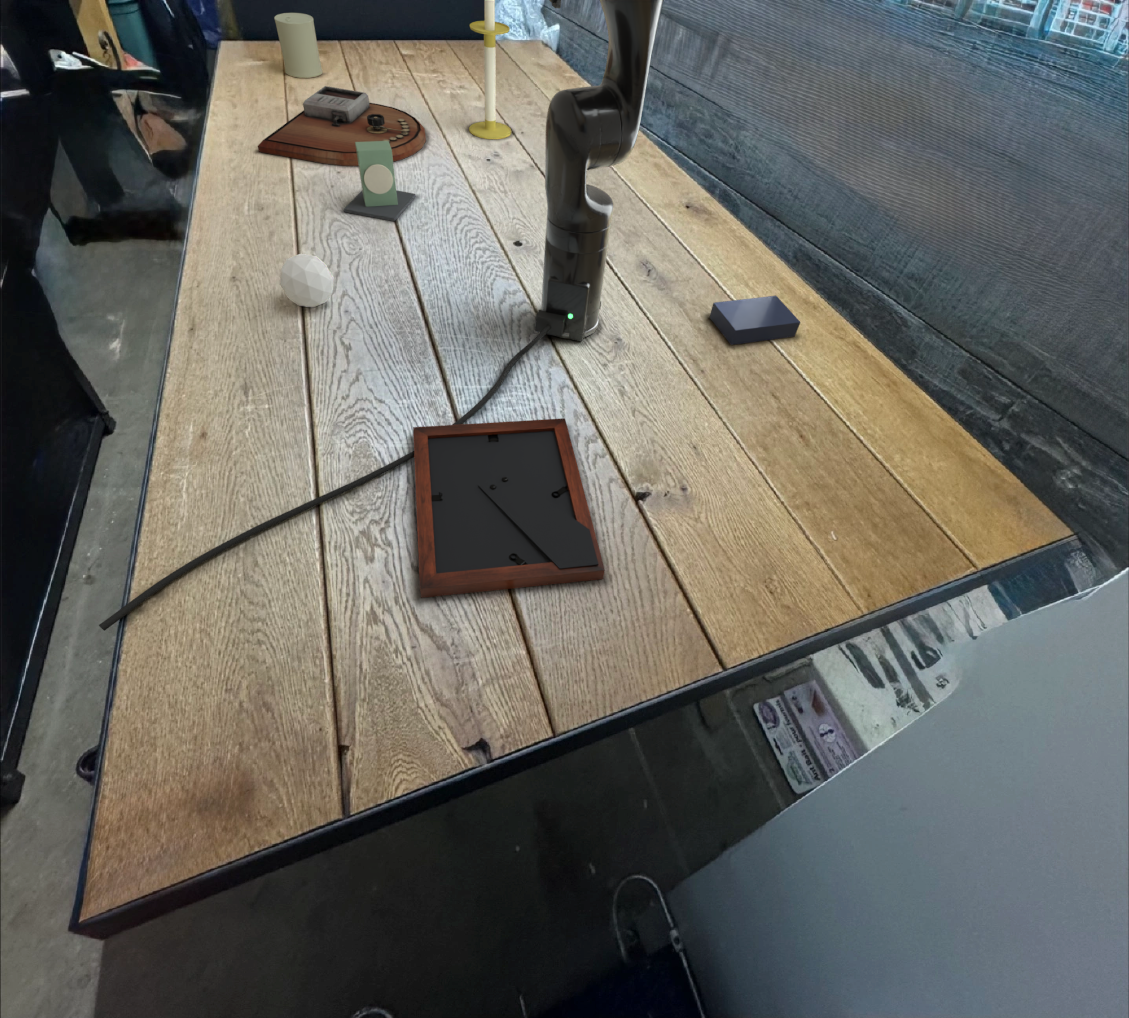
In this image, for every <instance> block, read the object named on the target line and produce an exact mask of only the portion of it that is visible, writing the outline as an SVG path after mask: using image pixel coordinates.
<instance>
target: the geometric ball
mask: <svg viewBox="0 0 1129 1018" xmlns="http://www.w3.org/2000/svg"><path fill="white" fill-rule="evenodd" d="M334 279H335V278H334V276H333V274H332V272H331V270H330V269H329V267H328V266H327V264H326V263H325V262H324V261H323V260H322V259H320V258H319V257H318V256H316V255H312V254H306V253H298V254H296V255H293V256H291V257H287V258H286V259H285V261H284V263H283V264H282V266H281V268H280V275H279V286H280V288H281V289H282V291H283V293H284V294H285V296H286V297H287V298H288V299H289V300H290V301H291V302H292V303H294V304H295V305H297V306H299V307H307V308H316V307H317V306H320V305H322V304H324V303H327V302H328V300H329V298H330V297H331V296H332V294H333V291H334V290H333V289H334Z"/></svg>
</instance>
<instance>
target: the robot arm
mask: <svg viewBox="0 0 1129 1018" xmlns="http://www.w3.org/2000/svg"><path fill="white" fill-rule="evenodd" d="M548 1H549V2H550V3H551V6H552V8H554V9H561V7H562V0H548ZM664 2H665V0H599V3H600V7H601V9H602V13H603V15H604V19H605V23H606V29H607V36H608V44H607V45H608V46H607V56H606V62H605V69H604V73H603V76H602V80H601V82H600V84H599V85H590V86H582V87H574V88H566V89H562V90H559V91H557V92H556V93H555V94H554V95H553V97H552V98H551V100H550V102H549V105H548V108H547V113H546V118H545V137H544V138H545V140H544V141H545V143H544V144H545V146H544V147H545V149H544V150H545V152H544V153H545V155H544V156H545V159H544V160H545V161H544V165H545V168H544V171H545V172H544V188H545V189H544V191H545V196H546V206H547V207H546V221H545V222H546V223H545V224H546V225H545V239H544V253H543V254H544V255H543V269H542V271H543V272H542V287H541V288H542V289H541V303H540V304H541V305H540V309H538V311H537V313H536V315H535V325H534V332H536V333H538V334H537V335H536V336H534V338H533V339H532V340H530V342H529V343H528V344H527V345H525V346H524V347H523V348H522V349H520V350H519V351H518V352H516V354H514V356H513V357H512V358H511V359H510V360H509V362H508V363H507V364H506V365H505V367H504V369H503V371H502V372H501V373H500V376H499V377H498V379H497V381H495V383H494V384H493V386H492V387H491V388H490V389H489V390H488V392H486V394H485V395H484V396H483V397H482V398H481V399H480V400H479V401H478V402H477V403H476V404H475V405H474V406H473V407H472V408H470V409H469V410H468V411H467V412H466V413H465V414H463V415H462V416H461V417H460V418H459V419H458V420H457V421H455V422H454V423H452V425H459V424H465V422H467V421H468V420H469V419H470V418H471V417H473V416H474V415H475V414H476V413H477V412H478V411H479V410H480V409H481V408H483V406H484V405H485V404H486V403H487V402H488V401H489V400H491V398H492V397H493V395H495V393H496V392H497V391H498V390H499V389H500V387H501V386H502V384H503V383H504V382H505V380H506V378H507V376H508V374H509V373H510V371H511V369H512V368H513V367H514V365H515V364H516V363H517V362H518V361H519V360H520V358H521V357H523V356H524V355H525V354H527V352H529V351H530V350H531V349H532V348H534V347H535V345H537V343H539V341H540V340H541V339H543V337H544V336H545V335H546V336H552V337H556V338H562V339H567V340H571V341H577V342H583V341H584V339H585V338H586V337H590V336H591V335H592V334H594V333H595V332H596V330H597V329H598V327H599V320H600V318H599V314H600V310H601V306H602V301H601V299H602V293H603V286H604V280H605V279H604V278H605V270H606V264H607V257H608V249H609V241H610V235H611V227H612V221H613V215H614V202H613V199H612V197H611V196H610V195H609V194H608V193H607V192H605V191H604V190H603V189H601V188H599V187H597V186H595V185H591V184H589V183H587V173H588V171H593V170H598V169H604V168H610V167H614V166H618V165H620V164H622V163H624V162H625V161H626V160H627V159H628V158H629V157H630V156H631V154H632V152H633V150H634V148H635V145H636V143H637V139H638V137H639V130H640V126H641V121H642V115H643V110H644V103H645V97H646V93H647V87H648V79H649V73H650V67H651V62H652V56H653V55H652V54H653V51H654V46H655V42H656V37H657V34H658V33H657V32H658V29H659V28H658V27H659V23H660V20H661V19H660V18H661V15H662V11H663V7H664ZM412 459H414V450H412V451H410V452H408V453H406V454H405V455H403V456H401V457H399V458H397V459H396V460H394V461H391V462H390V463H388V464H386V465H384V466H382V467H379V468H378V469H376V470H374V471H372V472H369V473H368V474H365V475H364V476H362V477H360V478H358V479H355V480H353V481H352V482H349V483H347V484H345V485H342V486H340V487H338V488H336V489H334V490H332V491H328V492H327V493H324V494H322V495H320V496H317V497H316V498H314V499H312V500H310V501H308V502H305V503H303V504H301V505H299V506H297V507H295V508H292V509H290V510H287V511H286V512H284V513H280V514H278V515H277V516H275V517H272V518H270V519H269V520H266V521H264V522H261V523H259V524H258V525H256V526H253V527H252V528H250V529H247V530H246V531H244V532H242V533H240V534H238V535H235V536H234V537H232V538H230V539H229V540H227V541H225V542H223V543H221V544H219V545H217V546H215V547H214V548H212V549H210V550H208V551H206V552H204V553H202V554H201V555H199V556H197V557H195V558H194V559H192V560H191V561H188V562H187V563H185V564H184V565H182V566H180V567H178V568H177V569H176V570H174V571H172V572H171V573H170V574H167V575H166V576H165V577H163V578H162V579H160V580H159V581H157V582H155V583H154V584H153V585H151V586H149V588H147V589H146V590H144V591H143V592H141V593H140V594H139V595H137V596H136V597H134V599H132V600H130V601H129V602H128V603H126V605H124V606H123V607H121V608H120V609H119V610H117V611H116V612H115V613H113V614H112V615H110V616H108V618H106V619H105V620H104V621H102V622H101V623H100V624H98V627H100V628H101V630H102V631H107V630H108V629H109V628H110V627H112V626H113V625H115V624H116V623H117V622H118V621H120V620H121V619H122V618H124V617H125V616H127V615H128V614H129V613H130V612H132V611H134V609H136V608H137V607H139V606H140V605H141V604H142V603H144V602H145V601H146V600H148V599H149V598H151V597H152V596H153V595H155V594H156V593H157V592H159V591H160V590H161V589H164V588H165V587H167V586H168V585H169V584H171V583H172V582H174V581H175V580H177V579H179V578H180V577H182V576H183V575H184V574H187V573H188V572H190V571H191V570H193V569H195V568H196V567H198V566H200V565H201V564H203V563H204V562H207V561H208V560H210V559H212V558H213V557H216V556H217V555H219V554H221V553H223V552H225V551H227V550H228V549H230V548H233V547H234V546H236V545H238V544H239V543H242V542H243V541H245V540H247V539H249V538H252V537H253V536H255V535H257V534H259V533H261V532H263V531H265V530H267V529H269V528H271V527H274V526H276V525H277V524H280V523H282V522H284V521H286V520H288V519H291V518H292V517H295V516H297V515H299V514H301V513H304V512H305V511H309V510H310V509H312V508H315V507H316V506H318V505H321V504H323V503H325V502H327V501H329V500H331V499H333V498H336V497H338V496H341V495H343V494H345V493H347V492H350V491H351V490H354V489H356V488H357V487H360V486H361V485H364V484H366V483H368V482H370V481H372V480H374V479H376V478H378V477H380V476H382V475H384V474H386V473H388V472H390V471H391V470H393V469H396V468H398V467H400V466H401V465H403V464H405V463H406V462H408V461H410V460H412Z"/></svg>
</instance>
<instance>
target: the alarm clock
mask: <svg viewBox="0 0 1129 1018" xmlns="http://www.w3.org/2000/svg"><path fill="white" fill-rule="evenodd" d="M355 145H356V152H357V158H358V165H359V166H358V171H359V177H360V183H361V191H363V198H364V202H365V205H366V207H370V206H387V205H398V201H397V193H396V190H397V185H396V176H395V166H394V162H393V157H392V149H391V146H390V144H389V141H371V142H355Z"/></svg>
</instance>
